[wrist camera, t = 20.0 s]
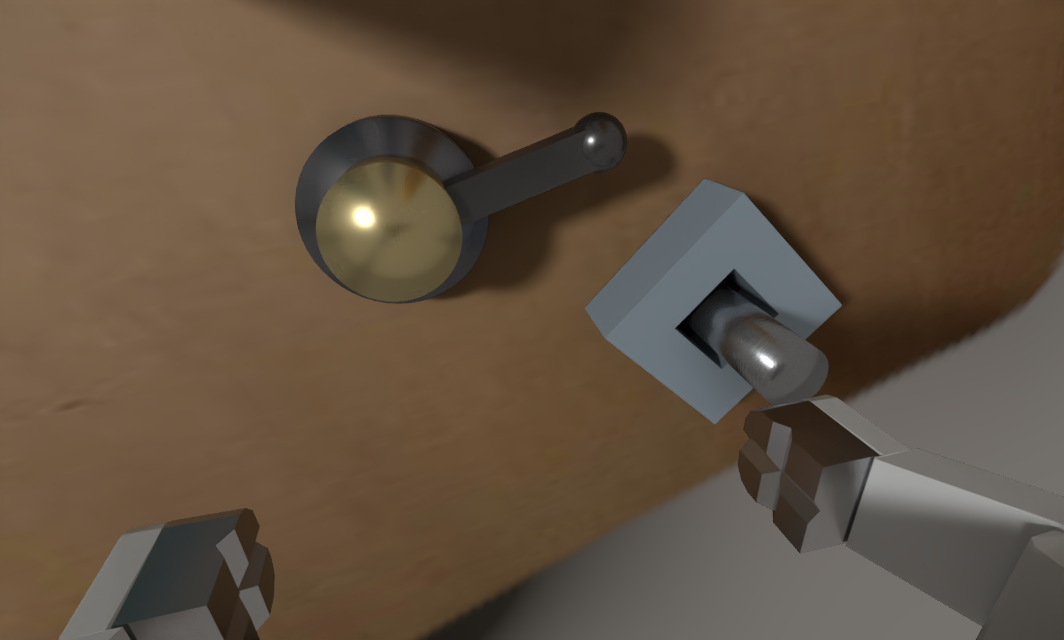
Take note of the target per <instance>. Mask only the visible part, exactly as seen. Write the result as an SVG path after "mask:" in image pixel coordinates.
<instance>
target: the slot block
mask: <svg viewBox="0 0 1064 640" xmlns="http://www.w3.org/2000/svg"><path fill="white" fill-rule="evenodd" d="M727 275H728V276H729V277H730V278H731V279H732V280H733V281H734V282H735V283H736V284H737V285H738V286H739V287H740V289H739V290H738V291H737V293H739V294H740V295H741V296H743V297H744V298H746V299H747V300H749V301H750V302H751V303H753V304H754V305H756V306H757V307H759V308H760V309H761V310H763V311H764V312H766V313H767V314H769V315H770V316H771V317H773V318H774V319H776V320H777V321H779V322H780V323H781V324H783V325H784V326H786V327H787V328H789V329H790V330H792V331H793V332H794V333H796V334H797V335H799V336H800V337H802V338H803V339H804V340H805V339H807V338H808V337H809V336H810V335H811V334H812V333H813V332H814V331H815V330H816V329H817V328H818V327H819V326H820V325H822V324H823V323H824V322H825V321H826V320H827V319H828V318H829V317H830V316H831V315H832V314H833V313H834V312H835V311H837V310H838V309H839V308H840V307H841V306H842V304H841V303H840V302H839V301H838V300H837V299H836V297H835V296H834V295H833V294H832V293H831V292H830V291H829V290H828V288H827V287H826V286H825V285H824V284H823V283H822V282H821V280H820V279H819V278H818V277H817V276H816V275H815V274H814V272H813V271H812V270H811V269H810V268H809V267H808V266H807V264H806V263H805V262H804V261H803V260H802V259H801V258H800V256H799V255H798V254H797V253H796V252H795V251H794V250H793V248H792V247H791V246H790V245H789V244H788V243H787V242H786V241H785V239H784V238H783V237H782V236H781V235H780V234H779V233H778V231H777V230H776V229H775V228H774V227H773V226H772V225H771V223H770V222H769V221H768V220H767V219H766V218H765V217H764V215H763V214H762V213H761V212H760V211H759V210H758V209H757V207H756V206H755V205H754V204H753V203H752V202H751V201H750V199H749V198H748V197H747V196H746V195H745V194H744V193H743V192H740V191H737V190H735V189H732V188H729V187H727V186H724V185H721V184H718V183H716V182H713V181H710V180H708V179H704V180H703V181H702V182H701V183H700V184H699V185H698V186H697V187H696V188H695V189H694V190H693V192H692V193H691V194H690V195H689V196H688V197H687V198H686V199H685V200H684V201H683V202H682V203H681V205H680V206H679V207H678V208H677V209H676V210H675V211H674V212H673V213H672V214H671V215H670V216H669V217H668V219H667V220H666V221H665V222H664V223H663V224H662V225H661V226H660V227H659V228H658V229H657V230H656V232H655V233H654V234H653V235H652V236H651V237H650V238H649V239H648V240H647V241H646V242H645V243H644V244H643V246H642V247H641V248H640V249H639V250H638V251H637V252H636V253H635V254H634V255H633V256H632V257H631V259H630V260H629V261H628V262H627V263H626V264H625V265H624V266H623V267H622V268H621V269H620V270H619V271H618V273H617V274H616V275H615V276H614V277H613V278H612V279H611V280H610V281H609V282H608V283H607V284H606V286H605V287H604V288H603V289H602V290H601V291H600V292H599V293H598V294H597V295H596V296H595V297H594V298H593V300H592V301H591V302H590V303H589V304H588V305H587V306H586V307H585V310H586V311H587V313H588V314H589V316H590V317H591V318H592V320H593V321H594V323H595V324H596V326H597V327H598V329H599V330H600V332H601V333H602V335H603V336H604V338H605V339H606V340H608V341H609V342H610V343H612V344H613V345H614V346H615V347H617V348H618V349H619V350H621V351H622V352H623V353H624V354H626V355H627V356H628V357H629V358H631V359H632V360H633V361H635V362H636V363H637V364H638V365H640V366H641V367H642V368H644V369H645V370H646V371H647V372H649V373H650V374H651V375H653V376H654V377H655V378H656V379H658V380H659V381H660V382H661V383H663V384H664V385H665V386H667V387H668V388H669V389H670V390H672V391H673V392H674V393H676V394H677V395H678V396H679V397H681V398H682V399H683V400H685V401H686V402H687V403H688V404H690V405H691V406H692V407H693V408H695V409H696V410H697V411H699V412H700V413H701V414H702V415H704V416H705V417H706V418H708V419H709V420H710V421H711V422H713V423H714V424H716V423H717V422H718V421H719V420H720V419H721V418H722V417H723V416H724V415H725V414H726V413H727V412H728V411H729V410H731V409H732V408H733V407H734V406H735V405H736V404H737V403H738V402H739V401H740V400H741V399H742V398H743V397H744V396H746V395H747V394H748V393H749V392H750V391H751V390H752V389H753V387H752V386H751V385H750V384H749V383H748V382H747V381H746V380H745V379H744V378H743V377H741V376H740V375H739V374H738V373H737V372H736V371H735V370H734V369H733V368H732V367H731V366H730V365H729V364H728V363H727V362H726V361H725V360H724V359H723V358H722V357H721V356H719V355H718V354H717V353H716V352H715V351H714V350H713V349H712V348H711V347H710V346H709V345H708V344H707V343H706V342H705V341H704V340H703V339H702V338H701V337H700V336H699V335H698V334H696V333H695V334H694V335H693V336H692V337H691V338H690V337H689V336H688V335H686V334H685V333H684V332H683V331H682V330H681V329H680V328H678V327H677V326H678V325H679V324H680V323H681V322H682V321H683V320H684V319H685V318H686V317H687V316H688V315H689V314H690V313H691V312H692V310H693V309H694V308H695V307H696V306H697V305H698V304H699V303H700V302H701V301H702V300H703V299H704V298H705V297H706V296H707V295H708V294H709V293H710V292H711V291H712V290H713V289H714V288H715V287H716V286H717V285H718V284H719V283H720V282H721V281H722V280H723V279H724V278H725V277H726V276H727Z"/></svg>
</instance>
